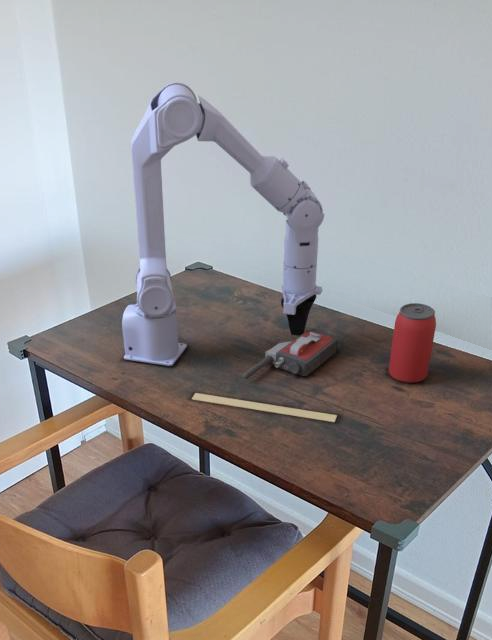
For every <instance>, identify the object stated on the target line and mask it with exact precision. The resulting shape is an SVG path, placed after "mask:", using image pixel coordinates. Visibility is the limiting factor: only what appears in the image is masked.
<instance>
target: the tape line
mask: <svg viewBox="0 0 492 640" xmlns="http://www.w3.org/2000/svg"><path fill="white" fill-rule="evenodd" d="M192 400H193V401H199V402H205V403H212V404H218V405H224V406H231V407H237V408H242V409H249V410H256V411H260V412H261V411H262V412H267V413H272V414H273V413H274V414H279V415H287V416H292V417H298V418H305V419H311V420H317V421H324V422H329V423H335V422H336V420H337V417H338V415H337V414H331V413H324V412H319V411H314V410H313V411H312V410H306V409H299V408H294V407H287V406H280V405H274V404H269V403H263V402H256V401H249V400H243V399H236V398H230V397H225V396H218V395H211V394H207V393H206V394H205V393H199V392H195V393H194V394H193V396H192V397H191V401H192Z"/></svg>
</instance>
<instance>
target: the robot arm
mask: <svg viewBox="0 0 492 640" xmlns="http://www.w3.org/2000/svg"><path fill="white" fill-rule="evenodd" d="M197 97H198V99H199V102H198V100H197ZM197 97H196V94H195V92H194V90H193V89H192V88H191V87H189V85H187V84H186V83H183V82H178V81H177V82H170V83H168V84H165V86H164V87H163V88H161V90H159V91H158V92H157V93H156V94H154V96H153V97H151V98H150V101H149V104H148V107H147V109H146V111H145V113H144V114H143V116H142V118H141V121H140V122H139V124H138V125H137V128H136V130H135V132H134V133H133V135H132V137H131V142H130V152H131V165H132V177H133V178H132V179H133V188H134V189H133V191H134V203H135V219H136V231H137V232H136V233H137V243H138V244H137V246H138V259H139V266H138V270H137V271H136V274H135V285H136V294H137V295H136V303H135V304H128V305H127V306H126V308H125V309H124V312H123V314H122V319H121V325H122V326H121V329H122V339H123V346H124V347H123V348H124V355H123V359H124V360H125V361H134V362H140V363H145V364H146V363H147V364H153V365H160V366H166V367H173V366H174V364H175V363H176V362H177V360H178V359H179V358H180V357H181V355H182V354H183V353H184V351H185V350H186V349H187V348H188V345H187V344H186V343H183V342H179V328H178V312H177V311H178V310H177V303H176V302H175V293H174V292H173V287H172V274H171V272H170V270H169V269H168V267H167V253H166V235H165V234H166V232H165V216H164V196H163V195H164V194H163V177H162V159H163V158H164V157H165V156H166V155H167V154H168V153H169V152H170V151H171V150H172V149H173V148H174V147H175V146H178V145H180V144H182V143H184V142H187V141H189V140H191V139H193V138H194V137H196V139H197V142H213V143H215V144H216V145H218V146H219V147H220V149H222V150H223V151H224V152H225V153H227V154H228V155H229V156H230V157H231V158H232V159H233V160H234V161H235V162H237V163H238V164H239V165H240V166H241V167H243V168H244V170H246V172H248V173H249V184H250V186H251V187H252V188H253V190H255V191H256V192H257V193H258V194H259V195H260V196H261V197H262V198H263V199H265V201H267V202H268V203H269V204H270V205H271V206H272V207H273V208H274V209H275V210H276V211H277V212H279V213H282V214H283V215H284V216H285V217H286V220H285V231H284V232H285V233H284V240H283V241H284V242H283V272H282V274H283V275H282V278H283V279H282V285H281V293H282V298H281V299H280V306H281V307H282V309H283V310H282V311H283V312H282V313H283V314H284V315H286V318H287V321H288V327H289V332H290V335H291V336H298V337H299V336H300V335H302V334H303V333H305V330H306V327H307V322H308V320H309V319H308V318H309V315H310V311H311V308H312V307H313V305H314V303H315V301H316V300H317V296H320V295H321V294H322V292H323V287H322V286H319V285H317V269H318V254H319V253H318V252H319V227H320V226H321V225H322V224H323V221H324V219H325V213H324V209H323V206H322V203H321V202H320V201H319V199H318V197H317V196H316V194H315V192H313V191H312V189H311V188H310V186H309V184H308V183H307V182H306V181H305V180H304V179H303V180H300V179H299V178H298V177H297V176H296V175H295V174H294V173H293V172H292V171H291V170H290V169H289V163H288V161H286V159H284V158H283V157H281V158H280V159H279V158H277V157H276V155H267V156H265V155H262V154H261V153H260V152H259V151H258V150H257V149H256V148H255V147H254V146H253V145H252V144H251V142H250V141H248V140H247V139H246V138H245V136H244V135H243V134H242V133H241V132H240V131H239V130H238V129H237V128H236V127H235V126H234V125H233V124H232V123H231V121H229V119H228V118H226V117H225V115H223V113H222V112H220V111H219V110H218V109H217V108H216V107H215V106H214V105H212V104H211V103H210V102H209V101H208V100H206V99H205V98H203V97H202V96H201V95H198V96H197Z"/></svg>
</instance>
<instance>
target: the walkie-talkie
mask: <svg viewBox="0 0 492 640" xmlns="http://www.w3.org/2000/svg"><path fill="white" fill-rule="evenodd" d="M337 350H338V338H337V336H336V335H335V334H332V333H328V332H326V331H322V330H319V329H316V328H311V329H309V330H306V331H304V333H303V334H302V335H300V336H298V337H296V338H295V339H293V340H292V341H285V342H284V341H283V342H279V343H277V344H276V345H274V346H273V347H272V348H269V349H267V350H266V351H265V352H264V353H265V355H264V357H263V359H261V360H260V361H259V362H258V363H257V364H255V365H253V366H252V367H250V368H249V369H248V370H246V371H245V372H244V373H243V374H242V377H243V378H244V379H246V380H247V379H249V378H250V377H251V376H253V375H254V374H256V373H257V372H259V371H260V370H261V369H262V368H264V367H265V366H268V365H269V364H272V365H274V367H275V368H276V369H281V370H283V371H286V372H289V373H292V374H294V375H299V376H300V377H306V376H308V375H309V374H311V373H312V372H314V371H315V370H316V369H317V368H318V367H320V366H321V365H322V364H324V363H325V362H326V361H327V360H329V359H330V358H331V357H332V356H334V355H335V354H336V353H337Z"/></svg>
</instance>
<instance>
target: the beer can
mask: <svg viewBox="0 0 492 640" xmlns="http://www.w3.org/2000/svg"><path fill="white" fill-rule="evenodd" d="M435 314H436V311H435V309H434V308H432V306H430V305H427V304H423V303H417V302H413V303H412V302H411V303H406V304H404V305H402V306H401V307H400V308H399V311H398V313H397V315H396V318H395V321H394V328H393V334H392V335H393V336H392V341H391V349H390V356H389V357H390V358H389V365H388V374H389V375H390V377H391V378H393V380H396V381H398V382H401V383H404V384H416V383H420V382H422V381H423V380H425V379H426V378H427V376H428V374H429V367H430V362H431V356H432V351H433V345H434V339H435V333H436V327H437V319H436V316H435Z"/></svg>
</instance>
